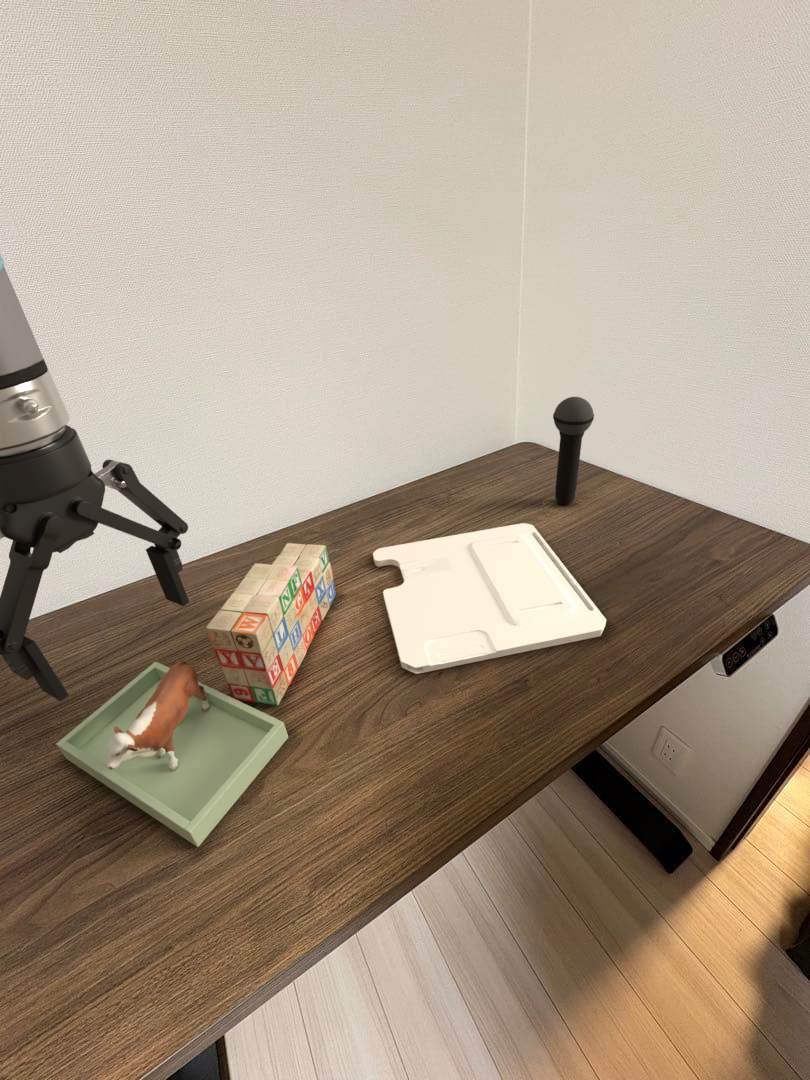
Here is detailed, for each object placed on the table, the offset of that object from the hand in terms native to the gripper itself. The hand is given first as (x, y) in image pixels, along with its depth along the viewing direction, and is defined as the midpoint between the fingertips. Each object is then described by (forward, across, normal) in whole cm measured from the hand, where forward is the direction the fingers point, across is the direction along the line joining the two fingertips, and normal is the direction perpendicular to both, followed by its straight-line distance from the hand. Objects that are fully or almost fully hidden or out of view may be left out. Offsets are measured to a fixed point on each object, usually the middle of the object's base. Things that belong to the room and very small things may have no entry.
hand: (122, 642), depth 51 cm
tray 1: (+16, 0, 0) cm, 17 cm away
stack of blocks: (+17, +19, -1) cm, 25 cm away
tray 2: (+16, +40, -20) cm, 48 cm away
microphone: (+16, +70, -25) cm, 76 cm away
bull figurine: (+16, 0, 0) cm, 16 cm away
